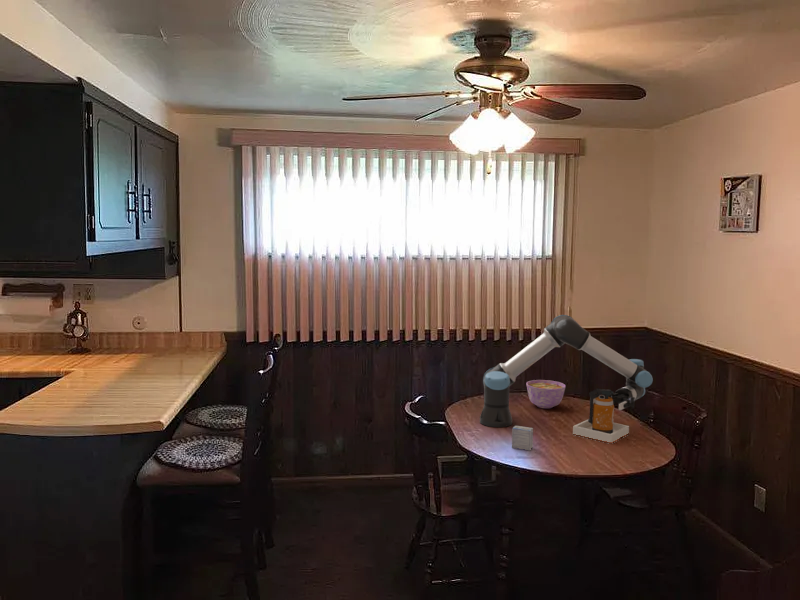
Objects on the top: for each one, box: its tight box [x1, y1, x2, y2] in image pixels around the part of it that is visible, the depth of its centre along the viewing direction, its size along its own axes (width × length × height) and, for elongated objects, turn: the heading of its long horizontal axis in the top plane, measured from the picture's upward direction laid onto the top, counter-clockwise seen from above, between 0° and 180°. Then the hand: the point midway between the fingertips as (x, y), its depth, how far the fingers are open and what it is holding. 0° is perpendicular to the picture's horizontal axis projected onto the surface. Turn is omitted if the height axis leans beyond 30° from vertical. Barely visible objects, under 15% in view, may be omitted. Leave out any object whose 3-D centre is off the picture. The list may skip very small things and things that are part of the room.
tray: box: [572, 418, 630, 442], centre depth 296 cm, size 18×18×4 cm
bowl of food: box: [526, 379, 566, 409], centre depth 341 cm, size 20×20×12 cm
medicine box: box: [511, 425, 534, 451], centre depth 277 cm, size 8×4×9 cm, turn 65°
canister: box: [587, 387, 615, 434], centre depth 295 cm, size 9×11×20 cm
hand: (604, 404), depth 295 cm, fingers open, 13 cm apart
